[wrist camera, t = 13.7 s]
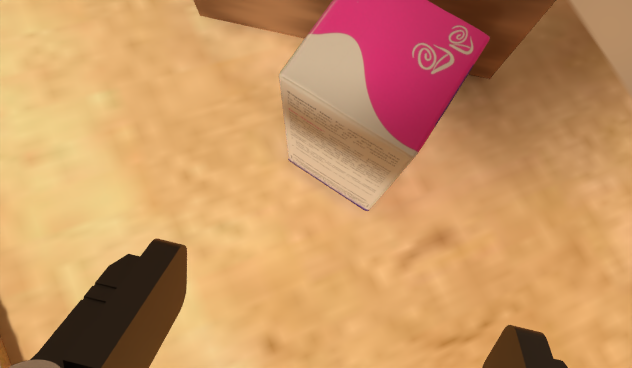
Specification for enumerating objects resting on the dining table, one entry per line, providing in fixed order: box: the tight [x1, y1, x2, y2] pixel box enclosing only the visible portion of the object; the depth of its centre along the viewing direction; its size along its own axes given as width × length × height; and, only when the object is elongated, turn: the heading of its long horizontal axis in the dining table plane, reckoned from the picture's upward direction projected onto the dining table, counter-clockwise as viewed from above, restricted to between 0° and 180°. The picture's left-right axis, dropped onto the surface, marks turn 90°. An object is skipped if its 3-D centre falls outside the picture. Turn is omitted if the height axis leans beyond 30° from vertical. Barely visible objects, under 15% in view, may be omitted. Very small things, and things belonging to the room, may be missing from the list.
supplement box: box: [279, 0, 490, 211], centre depth 21 cm, size 6×6×12 cm
